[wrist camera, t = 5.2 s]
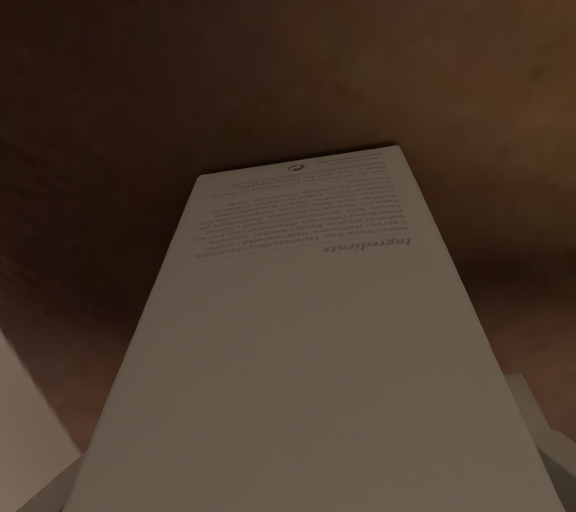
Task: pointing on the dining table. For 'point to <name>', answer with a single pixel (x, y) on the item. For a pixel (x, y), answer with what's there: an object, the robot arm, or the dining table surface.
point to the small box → (310, 360)
